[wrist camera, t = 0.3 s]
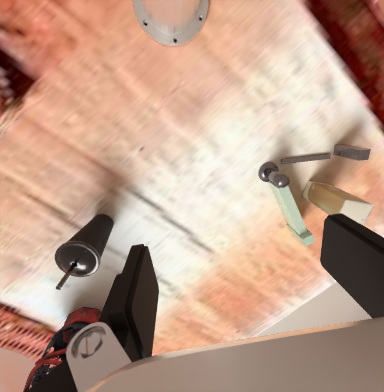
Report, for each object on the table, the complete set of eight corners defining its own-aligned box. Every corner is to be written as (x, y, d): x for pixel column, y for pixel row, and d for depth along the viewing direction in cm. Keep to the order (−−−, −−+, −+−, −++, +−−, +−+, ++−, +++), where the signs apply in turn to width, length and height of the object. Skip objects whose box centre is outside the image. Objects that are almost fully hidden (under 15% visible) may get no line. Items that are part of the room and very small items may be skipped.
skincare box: (331, 184, 50) (376, 205, 38) (323, 200, 51) (365, 225, 40) (307, 179, 49) (346, 199, 37) (300, 196, 50) (335, 220, 39)
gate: (266, 181, 48) (280, 191, 41) (276, 175, 47) (292, 185, 41) (289, 230, 53) (305, 246, 47) (298, 225, 53) (315, 241, 46)
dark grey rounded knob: (258, 164, 46) (272, 172, 40) (277, 161, 47) (295, 170, 40) (258, 182, 48) (271, 193, 41) (276, 180, 48) (293, 191, 41)
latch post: (282, 151, 46) (299, 157, 39) (343, 144, 46) (370, 149, 40) (281, 163, 47) (297, 171, 40) (341, 156, 47) (367, 163, 41)
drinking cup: (101, 202, 48) (52, 258, 29) (126, 224, 50) (95, 288, 31) (79, 222, 49) (19, 287, 30) (104, 242, 51) (63, 314, 33)
